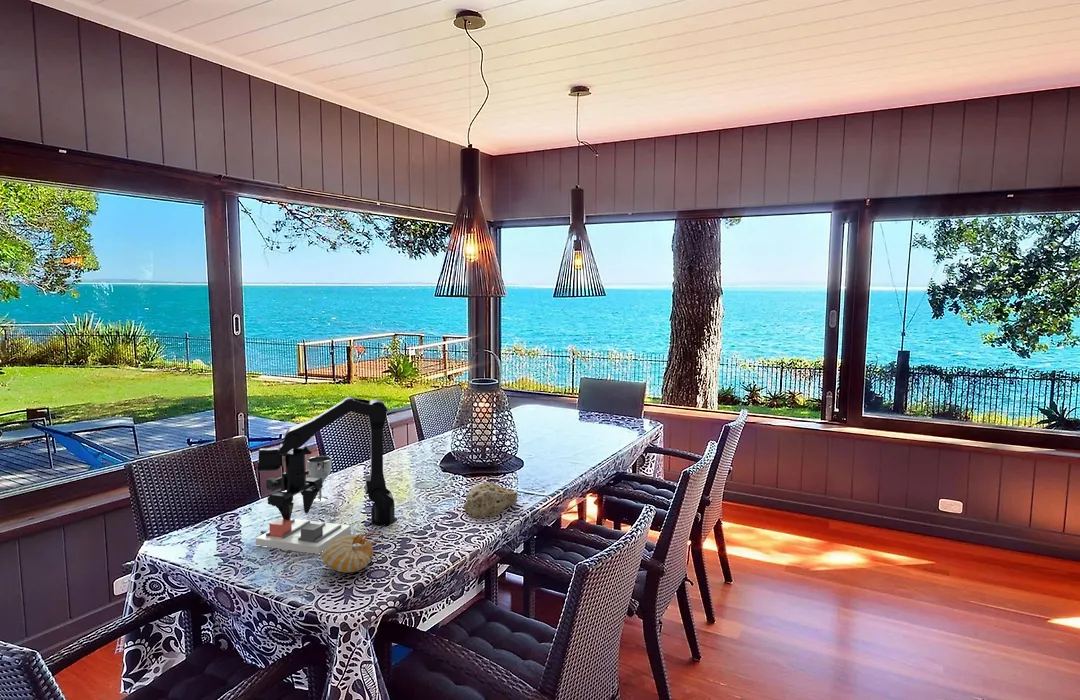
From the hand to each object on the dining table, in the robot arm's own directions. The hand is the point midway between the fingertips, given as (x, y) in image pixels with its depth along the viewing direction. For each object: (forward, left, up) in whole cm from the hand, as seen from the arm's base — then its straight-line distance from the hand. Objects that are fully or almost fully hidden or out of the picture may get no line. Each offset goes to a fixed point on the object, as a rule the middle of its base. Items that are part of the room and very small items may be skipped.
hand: (297, 518), depth 182 cm
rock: (-50, -36, -5) cm, 62 cm away
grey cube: (-11, +8, -2) cm, 14 cm away
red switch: (0, +7, -2) cm, 8 cm away
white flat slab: (-3, +4, -5) cm, 7 cm away
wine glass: (+11, -27, -5) cm, 30 cm away
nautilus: (-30, +14, -5) cm, 33 cm away
